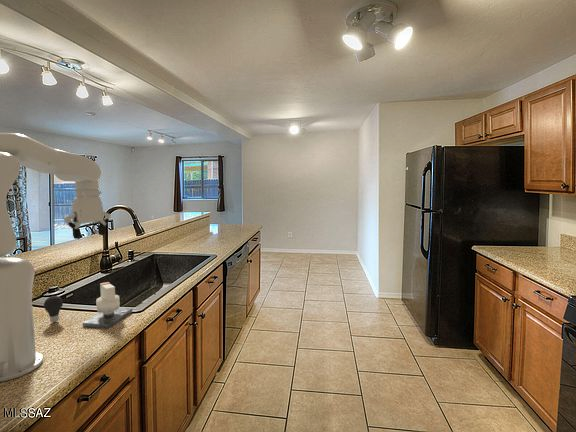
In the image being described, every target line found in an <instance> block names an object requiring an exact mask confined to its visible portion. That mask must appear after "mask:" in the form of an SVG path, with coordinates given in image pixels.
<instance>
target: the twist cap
mask: <svg viewBox="0 0 576 432" xmlns="http://www.w3.org/2000/svg"><path fill="white" fill-rule="evenodd" d="M99 290H100V297H98V298H96V301H95V303H96V305H95V306H96V312H98V313H100V312H102V313H103V312H111V311H114V310H117V309H118V308H121V307H120V306H121V305H120V304H121V303H120V295H118V294H116V286H114V285H113V284H111V283H110V282H109V281H106V282H101V283H99Z"/></svg>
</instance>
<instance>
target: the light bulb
mask: <svg viewBox="0 0 576 432" xmlns="http://www.w3.org/2000/svg"><path fill="white" fill-rule="evenodd" d="M63 302H64V301H63V298H61V297H60V296H58V295H52V296H49V297H48V298H46V299H45V301H44V302H43V309H44V310H45V311H46V312H47V313H48V316H49V320H50V322H51V323H56V322H57V321H59V317H60V316H59V314H60V311H61V309H62V307H63V304H64V303H63Z"/></svg>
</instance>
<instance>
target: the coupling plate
mask: <svg viewBox="0 0 576 432" xmlns="http://www.w3.org/2000/svg"><path fill="white" fill-rule="evenodd" d="M132 313H133V308H130V307H129V308H128V307H119V308H118V309H117V310H114V311H111V312H103V313H102V312H98V313H97V314H94V315H93V316H91V317H90V318H88V319H87V320H85V321H83V322H82V327H83V328H96V329H110V328H111V327H113V326H114V325H116V324H117V323H119V322H120V321H122V320H123V319H125V318H126V317H127V316H129V315H130V314H132Z"/></svg>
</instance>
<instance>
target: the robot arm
mask: <svg viewBox="0 0 576 432" xmlns="http://www.w3.org/2000/svg"><path fill="white" fill-rule="evenodd" d="M21 166H22V167H24V168H27V169H30V170H33V171H36V172H39V173H44V174H49V175H50V174H51V175H54V176H55V177H56V178H57V179H58V180H60V181H63V182H72V183H73V182H75V185H74V186H75V197H74V198H73V201H72V206H71V207H72V208H71V214H68V215H67V216H66V217H64V219H63V220H64V221H65V223H66V225H67V226H68V227H70V228H71V229H72V237H73V239H75V240H76V239H77V240H80V239H81V229H80V226H81V225H82V224H91V223H98V226H97V228H98V229H97V230H98V235H99V236H105V235H106V225H107V223H108V222H109V221H110V218H111V213H108V212H106V211H104V207H103V202H102V199H101V197H100V195H102V191H101V190H99V179H100V177H101V175H102V170H101V167H100V166H99V164H98V163H97V162H96V161H94V160H93V159H91V158H89V157H86V156H84V155H81V154H76V153H73V152H68V151H64V150H62V149H61V150H60V149H57V148H53V147H50V146H49V145H46V144H44V143H42V142H40V141H38V140H36V139H34V138H31V137H29V136H27V135H24V134H21V133H15V132H0V382H6V381H11V380H14V379H17V378H20V377H22V376H24V375H26V374H29V373H31V372H33V371H34V370H36V369H37V368H38V367H40V365H42V363H43V361H44V356H43V354H42V353H40V352H36V351H37V350H36V341H35V340H36V338H35V329H34V327H35V326H34V325H35V324H34V314H33V313H34V312H33V299H32V298H33V287H34V280H35V274H36V273H35V272H36V271H35V267H34V264H32V263H31V262H30V261H29V260H27V259H25V258H24V259H23V258H19V257H8V256H9V255H10V254H13V253H14V252H15V250H16V248H17V243H18V241H17V237H16V233H15V230H14V227H13V223H12V221H11V217H10V214H9V212H8V209H7V204H6V201H7V195H8V193H9V191H10V189H11V188H12V186H13V184H14V183H15V182H16V180H17V179H18V177H19V175H20V171H21ZM6 256H7V257H6Z"/></svg>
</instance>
